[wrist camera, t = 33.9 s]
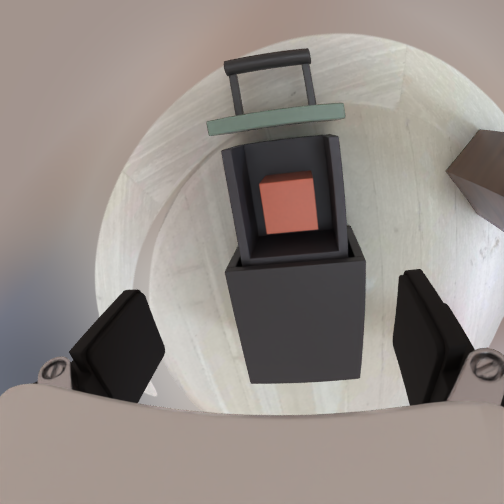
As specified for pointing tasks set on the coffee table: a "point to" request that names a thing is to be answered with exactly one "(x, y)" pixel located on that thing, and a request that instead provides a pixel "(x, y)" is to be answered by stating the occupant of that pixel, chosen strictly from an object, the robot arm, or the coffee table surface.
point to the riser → (482, 175)
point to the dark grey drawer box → (301, 317)
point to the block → (289, 202)
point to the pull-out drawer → (283, 170)
